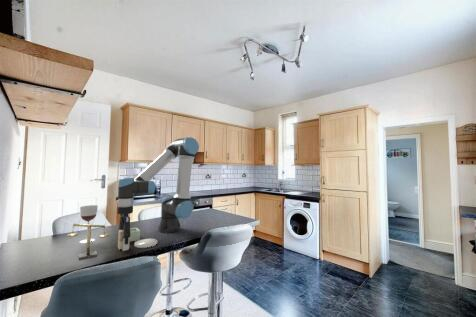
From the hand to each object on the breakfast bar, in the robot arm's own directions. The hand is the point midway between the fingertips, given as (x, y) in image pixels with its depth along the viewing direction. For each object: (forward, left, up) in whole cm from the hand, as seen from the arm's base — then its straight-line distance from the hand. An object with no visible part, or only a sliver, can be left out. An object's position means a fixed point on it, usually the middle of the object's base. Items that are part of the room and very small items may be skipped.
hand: (123, 247), depth 115 cm
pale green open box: (-6, -12, 0) cm, 13 cm away
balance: (+16, +3, 0) cm, 16 cm away
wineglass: (+15, -24, 0) cm, 28 cm away
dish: (-11, +2, 0) cm, 11 cm away
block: (0, 0, 0) cm, 0 cm away
